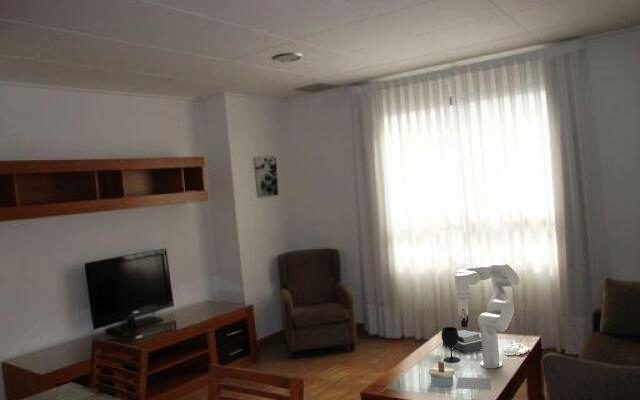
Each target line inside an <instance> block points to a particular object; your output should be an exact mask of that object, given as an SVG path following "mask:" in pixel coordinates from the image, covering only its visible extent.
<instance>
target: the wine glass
mask: <svg viewBox="0 0 640 400" xmlns="http://www.w3.org/2000/svg"><path fill="white" fill-rule="evenodd" d="M458 332H459V331H458V328H456V327H455V326H454V327H453V326H447V327H443V328H442V329H441V340H442V343H443V342H444V344H445V345H447V346H448V347H447V346H446V347H447V348H448V349H449V350H450V356H448V357H444V358H443V362H444V363H447V364H455V363H459V362H460V361H461V358H460V357H456V356H453V349H452V347H454V346H455V345H456V344H457V342H458V338H459V337H458Z"/></svg>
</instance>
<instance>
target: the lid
mask: <svg viewBox="0 0 640 400" xmlns="http://www.w3.org/2000/svg"><path fill="white" fill-rule="evenodd" d="M428 374H429V375H430V377H431V376H433V377H437V378H446V377H451V376H453V377H454V375H455V369H454V368H452V367H448V366H445V361H444V360H443V361H438V362H437V366H435V367H432V368H430V369H429V370H428Z"/></svg>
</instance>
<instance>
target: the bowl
mask: <svg viewBox="0 0 640 400" xmlns="http://www.w3.org/2000/svg"><path fill="white" fill-rule="evenodd" d="M430 382H431V384H430V385H431V386H434V387H438V388H447V387H451V386H452V385H454V375H453V376H451V377H446V378H437V377H433V376H431V375H430Z"/></svg>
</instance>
